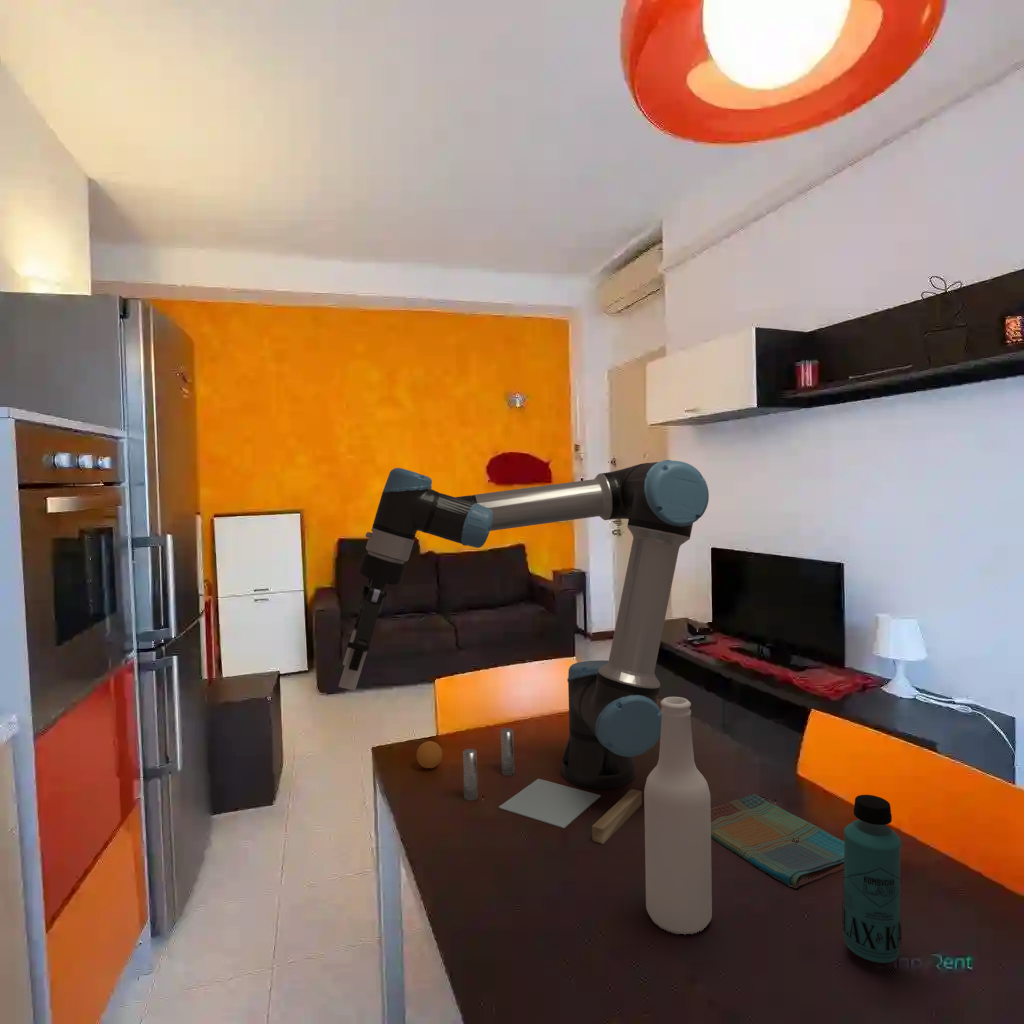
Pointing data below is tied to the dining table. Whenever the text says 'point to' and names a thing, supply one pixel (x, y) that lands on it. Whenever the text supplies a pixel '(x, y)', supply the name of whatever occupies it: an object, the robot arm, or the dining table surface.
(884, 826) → the beverage bottle
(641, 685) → the robot arm
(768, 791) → the dining table surface
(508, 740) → the post right
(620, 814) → the wall
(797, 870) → the dish towel
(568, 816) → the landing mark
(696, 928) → the alcohol
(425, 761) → the ball
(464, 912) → the dining table surface
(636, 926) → the dining table surface
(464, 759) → the post left
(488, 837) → the dining table surface
